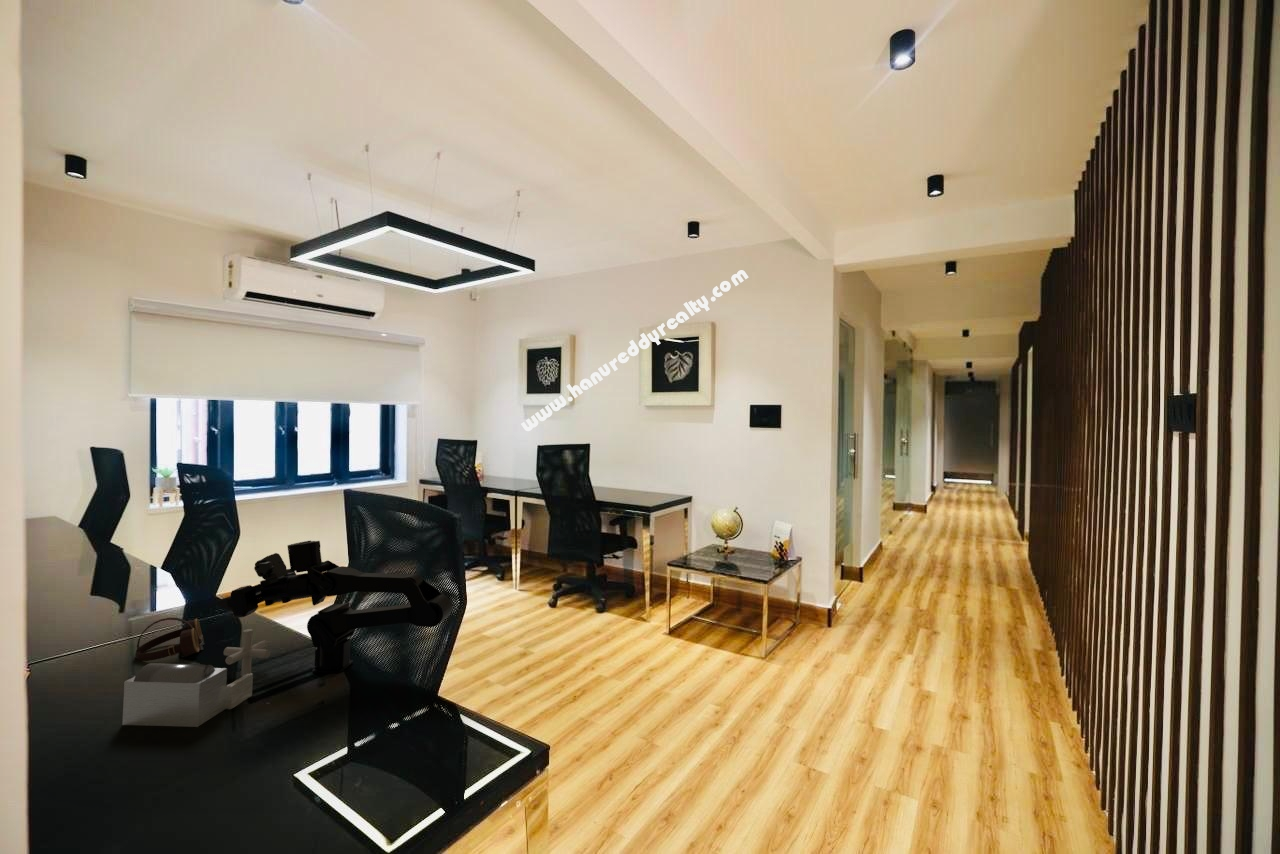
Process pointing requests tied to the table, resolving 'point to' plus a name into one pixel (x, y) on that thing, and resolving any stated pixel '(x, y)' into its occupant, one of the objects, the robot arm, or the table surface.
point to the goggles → (187, 639)
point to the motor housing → (180, 694)
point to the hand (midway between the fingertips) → (232, 596)
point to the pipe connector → (246, 652)
